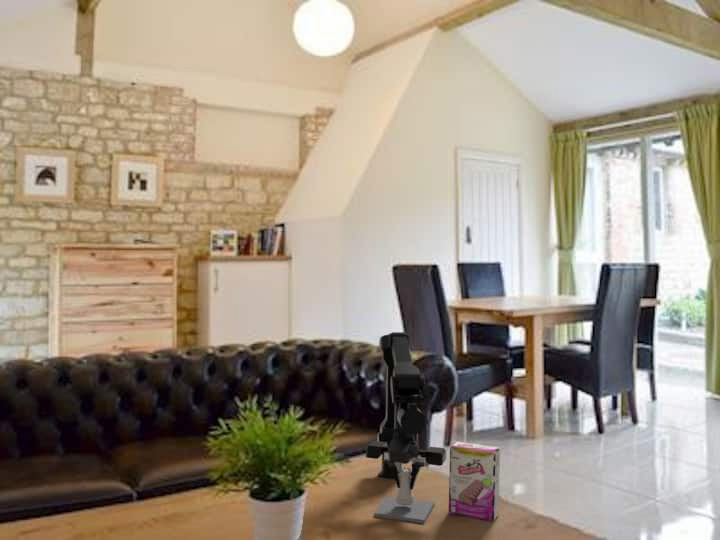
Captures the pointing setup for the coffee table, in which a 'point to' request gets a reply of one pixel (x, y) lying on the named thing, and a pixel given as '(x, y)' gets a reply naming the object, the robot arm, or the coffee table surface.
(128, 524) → the coffee table surface
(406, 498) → the rook chess piece
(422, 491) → the coffee table surface
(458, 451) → the candy bar box
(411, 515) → the gray mat
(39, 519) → the coffee table surface
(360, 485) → the coffee table surface
